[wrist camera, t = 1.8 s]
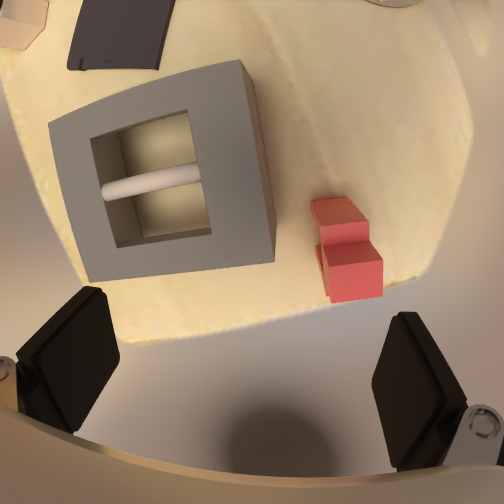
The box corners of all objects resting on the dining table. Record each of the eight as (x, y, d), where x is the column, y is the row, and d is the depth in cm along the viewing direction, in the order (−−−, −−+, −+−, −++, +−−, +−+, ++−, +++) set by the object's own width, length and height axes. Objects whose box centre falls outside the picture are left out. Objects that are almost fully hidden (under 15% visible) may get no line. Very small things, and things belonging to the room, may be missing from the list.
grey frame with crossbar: (252, 79, 29) (239, 59, 20) (276, 225, 35) (274, 262, 25) (101, 120, 32) (47, 123, 22) (130, 246, 37) (89, 282, 28)
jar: (15, 9, 25) (-39, -2, 14) (52, -11, 24) (-3, -31, 13) (8, 58, 28) (-51, 55, 17) (44, 41, 27) (-18, 30, 16)
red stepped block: (346, 196, 33) (382, 237, 20) (350, 251, 35) (381, 314, 23) (310, 201, 33) (326, 244, 21) (316, 255, 36) (332, 322, 23)
